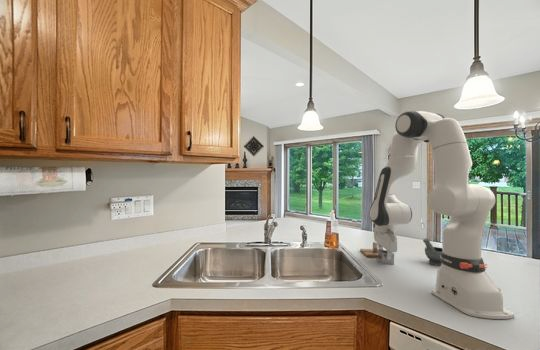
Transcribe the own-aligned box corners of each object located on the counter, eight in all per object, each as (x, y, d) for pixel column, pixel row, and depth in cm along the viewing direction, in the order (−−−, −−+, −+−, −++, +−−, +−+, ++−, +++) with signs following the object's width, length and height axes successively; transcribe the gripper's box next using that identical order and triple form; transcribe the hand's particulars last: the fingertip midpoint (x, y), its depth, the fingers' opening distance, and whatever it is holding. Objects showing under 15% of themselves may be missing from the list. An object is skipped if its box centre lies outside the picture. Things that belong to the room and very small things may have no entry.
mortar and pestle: (440, 260, 130) (441, 236, 130) (453, 267, 120) (454, 241, 120) (417, 260, 130) (418, 236, 130) (428, 266, 121) (429, 240, 121)
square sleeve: (394, 264, 124) (394, 253, 124) (381, 263, 124) (382, 253, 124) (389, 260, 129) (389, 250, 129) (377, 260, 130) (377, 249, 130)
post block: (391, 258, 132) (391, 246, 132) (367, 257, 133) (367, 245, 133) (382, 251, 144) (382, 240, 144) (360, 250, 145) (360, 239, 145)
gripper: (401, 232, 116) (400, 263, 116) (384, 223, 137) (383, 249, 137) (387, 232, 117) (386, 263, 117) (371, 223, 137) (371, 249, 137)
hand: (384, 255), depth 127 cm, fingers open, 8 cm apart
